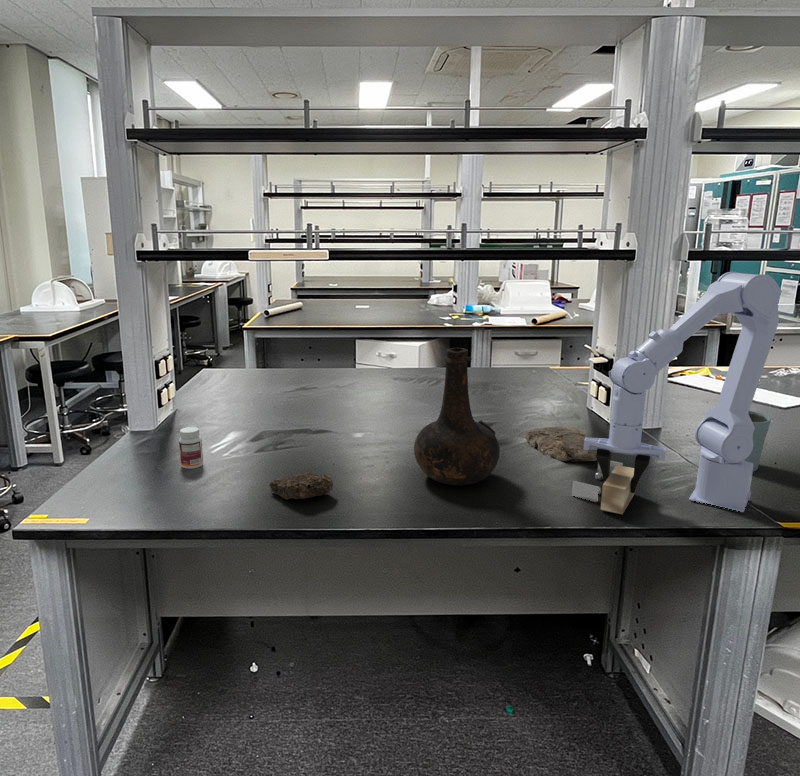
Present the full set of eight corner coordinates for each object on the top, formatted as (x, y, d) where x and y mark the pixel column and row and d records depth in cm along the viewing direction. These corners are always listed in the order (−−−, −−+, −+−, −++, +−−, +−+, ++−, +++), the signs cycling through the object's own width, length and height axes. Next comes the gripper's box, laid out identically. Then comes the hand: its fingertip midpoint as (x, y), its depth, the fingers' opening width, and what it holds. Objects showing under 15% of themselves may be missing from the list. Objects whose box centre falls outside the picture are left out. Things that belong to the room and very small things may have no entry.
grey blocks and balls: (621, 476, 132) (622, 463, 131) (596, 502, 118) (597, 488, 118) (598, 470, 135) (599, 458, 134) (571, 496, 121) (572, 482, 121)
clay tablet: (614, 465, 139) (573, 436, 158) (616, 445, 138) (574, 418, 157) (557, 471, 136) (522, 441, 155) (558, 450, 135) (523, 422, 154)
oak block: (635, 492, 122) (637, 468, 121) (622, 514, 112) (625, 489, 111) (614, 488, 124) (617, 465, 123) (600, 509, 114) (602, 484, 113)
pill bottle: (185, 461, 138) (182, 426, 136) (206, 461, 138) (203, 426, 136) (177, 469, 134) (174, 432, 132) (198, 469, 133) (196, 433, 131)
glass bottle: (512, 489, 124) (519, 355, 118) (429, 499, 119) (432, 359, 113) (477, 459, 141) (482, 340, 134) (403, 467, 136) (404, 343, 129)
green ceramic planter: (731, 455, 145) (738, 406, 142) (772, 469, 137) (781, 418, 134) (702, 461, 141) (709, 412, 138) (744, 476, 132) (752, 424, 129)
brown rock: (339, 499, 119) (338, 475, 118) (292, 512, 113) (291, 487, 112) (311, 481, 128) (311, 458, 127) (266, 492, 122) (265, 468, 121)
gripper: (668, 421, 115) (661, 487, 118) (589, 411, 121) (584, 475, 124) (667, 431, 109) (659, 501, 112) (584, 421, 115) (578, 488, 118)
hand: (619, 488), depth 118 cm, fingers closed on oak block, 4 cm apart
